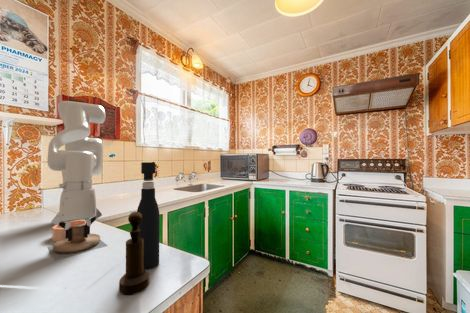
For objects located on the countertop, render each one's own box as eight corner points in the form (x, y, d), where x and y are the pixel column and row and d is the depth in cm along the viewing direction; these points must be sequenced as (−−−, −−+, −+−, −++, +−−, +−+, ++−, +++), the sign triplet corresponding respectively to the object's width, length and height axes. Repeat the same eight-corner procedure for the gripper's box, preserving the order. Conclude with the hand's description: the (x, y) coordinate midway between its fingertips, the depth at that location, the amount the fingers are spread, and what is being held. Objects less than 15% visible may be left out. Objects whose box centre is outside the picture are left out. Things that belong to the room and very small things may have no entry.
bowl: (70, 231, 86) (70, 219, 86) (94, 232, 85) (95, 220, 85) (44, 242, 75) (44, 228, 75) (71, 243, 74) (72, 229, 74)
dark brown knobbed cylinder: (126, 278, 52) (127, 209, 52) (152, 277, 53) (153, 208, 53) (113, 296, 45) (114, 216, 46) (143, 294, 46) (144, 215, 46)
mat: (47, 248, 70) (47, 247, 70) (95, 236, 80) (95, 235, 80) (54, 262, 61) (54, 260, 61) (107, 246, 71) (107, 245, 71)
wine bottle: (163, 264, 59) (164, 162, 60) (140, 273, 55) (142, 162, 55) (153, 257, 64) (154, 162, 64) (131, 264, 59) (132, 162, 60)
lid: (76, 236, 78) (76, 220, 78) (108, 237, 77) (108, 221, 77) (41, 251, 65) (41, 232, 65) (79, 253, 64) (79, 234, 64)
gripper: (45, 189, 63) (44, 248, 62) (108, 185, 74) (107, 235, 73) (46, 186, 68) (45, 241, 68) (105, 183, 79) (104, 230, 79)
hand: (77, 237), depth 71 cm, fingers closed on lid, 4 cm apart
